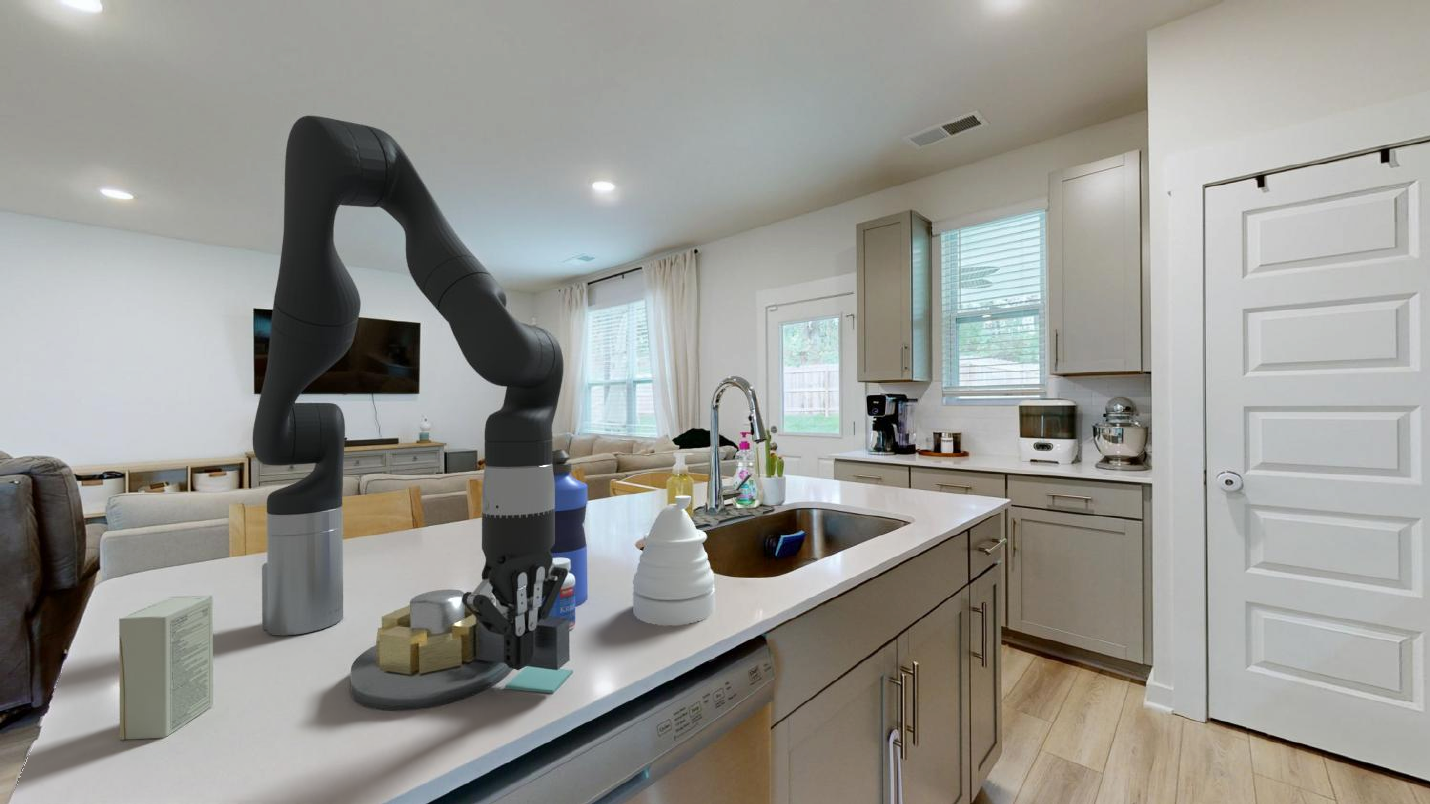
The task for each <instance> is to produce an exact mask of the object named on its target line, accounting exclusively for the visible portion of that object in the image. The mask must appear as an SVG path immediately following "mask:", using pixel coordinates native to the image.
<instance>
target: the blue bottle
mask: <svg viewBox="0 0 1430 804" xmlns="http://www.w3.org/2000/svg"><path fill="white" fill-rule="evenodd" d="M570 458H571V456H570V455H569V454H568V453H567V452H566V451H565V449H552V465H553V475H554V482H555V544H554V546H553V547H552V548H551V549H550V552H551V554H552V557H553V558H568V559H570V564H571V568H570V571H569V573H571V574H572V575H573V576H574V577H575V608H576V607H578V605H579V606H580V605H582V603H583V604H584V603H586V602H587V601H586V600H588V599H589V597H588V591H589V590H588V545H587V540H586V532H585V524H586V514H587V513H586V512H587V505H588V484H587V483H585V482H582V481H580V480H578V479H576V478H574V477H573V476H572V474H571V473H572V462H568V461H569V459H570ZM587 598H588V599H587ZM585 601H586V602H585Z"/></svg>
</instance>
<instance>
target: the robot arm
mask: <svg viewBox="0 0 1430 804" xmlns="http://www.w3.org/2000/svg"><path fill="white" fill-rule="evenodd" d="M285 150H286V151H285V162H284V163H285V164H284V194H283V195H284V200H283V201H284V202H283V203H284V205H283V207H284V208H283V209H284V211H283V233H282V234H283V236H282V244H281V253H280V261H279V263H280V264H279V268H278V276H277V282H276V288H275V293H274V296H273V297H274V299H273V305H272V314H271V321H270V329H269V330H270V331H269V332H270V333H269V342H268V346H269V347H268V354H267V355H268V356H267V364H266V370H265V375H264V380H263V384H262V388H261V391H260V397H259V400H258V405H257V409H256V413H255V419H254V423H253V428H252V449H253V454H254V455H255V457H256V459H257V460H258V461H259V462H260V463H261V464H263V465H267V466H275V467H276V466H279V467H280V466H293V465H294V466H295V465H307V464H308V465H309V464H315V465H314V468H313V470H312V471H311V472H310V473H309V474H307V476H305V477H304V478H301V479H300V480H298V481H296V482H293V483H292V484H290V485H289V484H288V485H287V486H284V487H281V488H279V489H277V490H274V491H272V492H270V493H269V494H268V495H267V498H266V537H267V540H266V542H267V543H266V549H267V550H266V556H267V561H266V562H265V563H263V565H262V566H261V621H262V623H261V627H262V630H267V633H268V634H270V635H273V636H293V635H302V634H307V633H311V632H316V631H320V630H322V629H323V630H324V629H326V628H329V627H332V626H334V625H335V624H337V623H339V622H341V621H342V620H343V618H344V533H343V532H344V529H343V528H344V527H343V525H344V524H343V523H344V522H343V518H344V517H343V516H344V515H343V489H344V458H345V456H344V455H345V443H346V441H345V440H346V422H345V421H346V420H345V416H344V413H343V411H342V409H341V407H340V406H339V405H338V404H337V403H333V402H297V399H298V398H299V397H300V395H301V394H302V392H303V391H304V390H305V389H306V388H307V387H308V386H309V385H310V384H311V383H312V382H314V381H316V380H317V379H318V378H319V377H320V376H322V375H323V374H324V373H325V372H326V371H328V370H329V369H330V368H331V367H333V366H334V365H335V364H336V363H338V362H339V361H340V360H341V359H342V358H343V357H344V356H345V355H346V353H347V352H348V350H349V349H350V348H351V347H352V344H353V343H354V340H355V339H354V338H355V335H356V330H357V327H358V326H357V325H358V321H359V317H360V314H361V313H360V312H361V296H360V293H359V290H358V288H357V286H356V284H355V282H354V280H353V277H352V276H351V274H350V272H349V271H348V269H347V268H346V266H345V265H344V262H343V261H342V259H341V257H340V255H339V254H338V251H337V249H336V246H335V242H334V238H335V235H334V234H335V233H334V229H335V228H334V227H335V220H336V214H337V211H338V210H339V209H338V208H339V207H340V206H344V207H345V206H347V207H359V208H362V207H363V208H381V209H382V210H383V211H385V212H386V213H388V214H389V215H390V216H391V217H392V218H393V219H394V220H395V221H396V222H397V223H398V224H399V225H400V226H401V227H402V229H403V231H404V235H405V236H404V237H405V259H406V263H407V268H408V271H409V273H410V275H411V278H412V280H413V281H414V283H415V286H417V288H418V289H419V291H420V292H421V293H422V294H423V295H424V296H425V298H426V299H427V300H428V301H429V302H430V304H431V305H432V306H433V307H434V308H435V309H436V311H437V312H438V313H439V314H440V316H442V318H443V319H444V320H446V322H447V323H448V324H449V328H450V330H451V332H452V335H453V337H454V338H455V340H456V343H457V345H458V347H459V349H460V351H461V352H462V355H463V357H464V358H465V360H466V362H467V363H468V364H469V366H470V367H471V368H472V370H473V371H474V372H475V373H477V374H478V375H479V376H480V377H481V378H483V379H484V380H485V381H487V382H488V383H490V384H493V385H495V386H497V387H498V386H499V387H506V389H505V395H504V400H503V404H502V407H501V408H500V409H499V410H496V411H495V412H493V413H491V414H489V415H488V417H487V419H486V421H485V427H484V471H483V478H482V483H481V484H482V485H481V550H482V552H483V555H484V557H485V563H484V567H483V569H482V571H481V581H480V583H479V584H478V586H477V587H476V588H475V589H474V591H473V592H471V591H466V592H464V595H463V597H462V602H463V604H464V605H465V606H466V607H467V608H468V609H469V610H470V611H471V613H472V614H473V615H474V616H475V617H476V618H477V619H478V620H479V622H480V623H481V624H482V625H483V626H484V627H485V628H486V629H487V630H488V631H489V632H493V633H496V634H500V635H503V636H504V662H505V664H507V666H508V667H509V668H512V670H514V671H515V670H516V671H520V670H523V669H525V668H526V667H527V666H528V665H530V663H531V658H532V655H533V630H534V629H535V628H536V626H537V622H538V621H540V620H541V619H543V620H545V619H546V618H547V617H548V615H549V613H550V611H551V609H552V607H553V605H554V602H555V600H556V598H557V596H558V594H559V592H560V590H561V587H562V585H563V583H564V581H565V579H566V577H567V574H568V571H567V569H566V568H561V567H558V566H557V565H555V564H554V563H553V557H552V554H551V552H550V549H551V548H552V547H553V546H554V544H555V482H554V475H553V465H552V451H553V423H554V419H555V416H556V411H557V408H558V403H559V399H560V395H561V388H562V384H563V379H564V370H565V369H564V357H563V351H562V347H561V345H560V343H559V341H558V340H557V338H556V337H555V335H553V334H552V333H551V332H549V331H548V330H546V329H545V328H542V327H540V326H539V327H538V326H534V325H530V324H527V323H523V322H520V321H519V320H518V319H517V318H515V317H514V316H513V315H512V314H511V313H510V312H509V310H507V297H506V293H505V291H504V290H503V288H502V286H501V285H500V284H499V282H498V281H497V280H496V279H495V278H494V276H493V275H492V274H491V272H489V270H488V269H486V267H485V266H484V265H483V263H481V262H480V261H479V259H478V258H477V257H476V256H475V255H474V254H473V252H471V250H470V249H469V248H468V247H467V245H465V243H464V242H463V240H461V238H460V237H459V236H458V234H457V233H456V232H455V230H454V229H453V227H452V226H451V225H450V223H449V221H448V220H447V218H446V216H445V215H444V213H443V212H442V210H441V208H440V207H439V205H438V204H437V202H436V200H435V198H434V197H433V195H432V194H431V192H430V191H429V189H428V187H427V186H426V184H425V182H424V180H423V179H422V178H421V176H420V174H419V173H418V171H417V170H416V168H415V165H413V163H412V161H411V160H410V157H409V156H408V155H407V154H406V152H405V150H403V148H402V147H401V145H400V144H399V143H398V141H397V140H395V139H394V138H393V137H392V135H390V134H389V133H387V132H386V131H384V130H381V129H379V128H378V127H377V128H376V127H373V126H371V125H365V124H359V123H355V122H350V121H349V122H348V121H344V120H339V119H334V118H329V117H324V116H319V115H304V116H301V117H299V118H298V119H297V120H296V121H295V122H294V123H293V125H292V126H291V129H290V131H289V134H288V139H287V143H286V149H285ZM494 597H495V598H494ZM544 597H545V600H544V602H543V604H542V606H541V602H542V599H543V598H544ZM494 603H495V604H494ZM540 606H541V607H540ZM512 621H513V622H512Z"/></svg>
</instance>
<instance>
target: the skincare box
mask: <svg viewBox="0 0 1430 804" xmlns="http://www.w3.org/2000/svg"><path fill="white" fill-rule="evenodd" d="M213 599H214V598H213V595H199V596H196V595H191V596H171V597H168V598H165V599H163V600H160V601H158V602H156V603H154V604H151V605H147V606H146V607H144V608H141V609H138V610H136V611H133V612H131V613H129V614H127V615H124V616H121V617H119V619H118V623H119V626H118V630H119V647H118V649H119V650H118V651H119V659H118V660H119V666H118V667H119V740H122V741H123V740H143V739H164V738H166V736H167V737H168V736H170V735H171V734H172V733H174V732H176V731H177V730H179V729H181V728H182V727H184V726H185V725H186V724H188V723H189V722H190V721H192V720H193V719H195V718H196V717H198V716H199V715H200V716H201V714H203V713H204V712H205V711H206V710H208V709H209V708H211V707H213V705H214V645H213V644H214V639H213V638H214V637H213V636H214V633H213V632H214V630H213V629H214V628H213V627H214V623H213V622H214V621H213V619H214V618H213V615H214V613H213V609H214V608H213V605H214V603H213V602H214V601H213Z"/></svg>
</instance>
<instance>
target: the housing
mask: <svg viewBox="0 0 1430 804" xmlns="http://www.w3.org/2000/svg"><path fill="white" fill-rule="evenodd" d="M464 594H465V592H464V591H462V590H459V589H439V590H432V591H428V592H423V593H420V594H418V595H415V596H414V597H412V598H411V599H410V601H409V605H410V628H416V629H424V630H427V637H432V636H438V635H443V634H449V633H452V625H454V624H456V623H458V622H459V621H461V620H463V619H465V605H464V604H463V602H462V597H463V595H464ZM350 667H351V668H350V694H351V697H352V699H353V701H355V702H356V703H357V704H359V705H361V706H362V707H365V708H368V709H372V710H378V711H389V712H391V711H392V712H397V711H399V712H400V711H401V712H402V711H414V710H415V711H416V710H423V709H429V708H434V707H439V706H443V705H446V704H447V705H448V704H451V703H454V702H458V701H460V700H463V699H467V698H469V697H472V696H475V695H478V694H479V693H481V692H483V691H486V690H487V689H490V688H491V687H494V686H495V685H497V684H498V683H499V682H500V681H502V680H504V679H505V678H506V677H507V676H508V675H509V674H510V673H511V672H512V670H513V669H512V668H509V667H508V666H507V664H505V663H501V662H493V661H486V660H479V659H476V658H475V659H474V660H472V661H470V662H465V661H462V665H459V666H455V667H450V668H445V669H440V670H435V671H431V672H426V673H421V674H419V670H417V671H416V672H414V673H412V674H404V673H398V672H392V671H385V670H380V667H376V644H375V645H373V646H371V647H370V648H368V649H366V650H365V651H364V652H362V653H361V654H360V655H359V656H357V657H356V658H355V660H354V661H353V662H352V664H351V666H350Z"/></svg>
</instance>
